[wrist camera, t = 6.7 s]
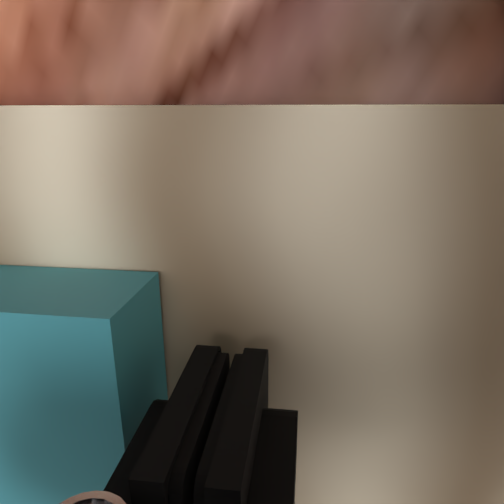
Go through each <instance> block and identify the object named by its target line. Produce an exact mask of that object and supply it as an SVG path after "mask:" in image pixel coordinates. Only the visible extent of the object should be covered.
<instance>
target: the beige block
mask: <svg viewBox="0 0 504 504" xmlns="http://www.w3.org/2000/svg"><path fill="white" fill-rule="evenodd" d="M0 265H15V266H36V267H58V268H80V269H102V270H124V271H146V272H158V275H159V288H160V301H161V314H162V327H163V341H164V354H165V367H166V380H167V393H168V400H169V398H170V396H171V394H172V392H173V390H174V388H175V386H176V384H177V382H178V380H179V378H180V376H181V374H182V372H183V370H184V368H185V366H186V364H187V362H188V360H189V358H190V356H191V354H192V352H193V350H194V348H195V346H196V345H208V346H220V347H221V352H222V353H228V354H229V361H230V367H231V364H232V361H233V358H234V355H235V354H243V350H244V348H256V349H268V356H269V363H268V408H274V409H287V410H298V429H297V459H296V483H295V504H504V104H392V105H11V106H0Z"/></svg>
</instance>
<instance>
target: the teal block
mask: <svg viewBox="0 0 504 504" xmlns="http://www.w3.org/2000/svg"><path fill="white" fill-rule="evenodd" d="M156 399H161V400H168V393H167V380H166V367H165V354H164V341H163V327H162V314H161V301H160V288H159V275H158V272H146V271H124V270H102V269H80V268H58V267H36V266H15V265H0V504H60V503H61V502H63V501H64V500H66V499H68V498H70V497H72V496H75V495H77V494H80V493H83V492H89V491H96V490H97V491H103V490H104V488H105V486H106V485H107V483H108V481H109V479H110V477H111V476H112V474H113V472H114V470H115V468H116V467H117V465H118V463H119V461H120V459H121V458H122V456H123V454H124V452H125V450H126V448H127V447H128V445H129V443H130V441H131V439H132V438H133V436H134V434H135V432H136V430H137V429H138V427H139V425H140V423H141V421H142V420H143V418H144V416H145V414H146V412H147V410H148V409H149V407H150V405H151V404H152V402H153V401H154V400H156Z"/></svg>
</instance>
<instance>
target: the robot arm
mask: <svg viewBox="0 0 504 504" xmlns="http://www.w3.org/2000/svg"><path fill="white" fill-rule="evenodd" d="M268 363H269V356H268V349H256V348H244V350H243V354H235V355H234V358H233V361H232V364H231V367H230V361H229V354H228V353H222V352H221V347H220V346H208V345H196V346H195V348H194V350H193V352H192V354H191V356H190V358H189V360H188V362H187V364H186V366H185V368H184V370H183V372H182V374H181V376H180V378H179V380H178V382H177V384H176V386H175V388H174V390H173V392H172V394H171V396H170V398H169V400H161V399H156V400H154V401H153V402H152V404H151V405H150V407H149V409H148V410H147V412H146V414H145V416H144V418H143V420H142V421H141V423H140V425H139V427H138V429H137V430H136V432H135V434H134V436H133V438H132V439H131V441H130V443H129V445H128V447H127V448H126V450H125V452H124V454H123V456H122V458H121V459H120V461H119V463H118V465H117V467H116V468H115V470H114V472H113V474H112V476H111V477H110V479H109V481H108V483H107V485H106V486H105V488H104V490H103V491H97V490H96V491H89V492H83V493H80V494H77V495H75V496H72V497H70V498H68V499H66V500H64V501H63V502H61V503H60V504H295V483H296V459H297V429H298V410H287V409H274V408H268Z"/></svg>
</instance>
